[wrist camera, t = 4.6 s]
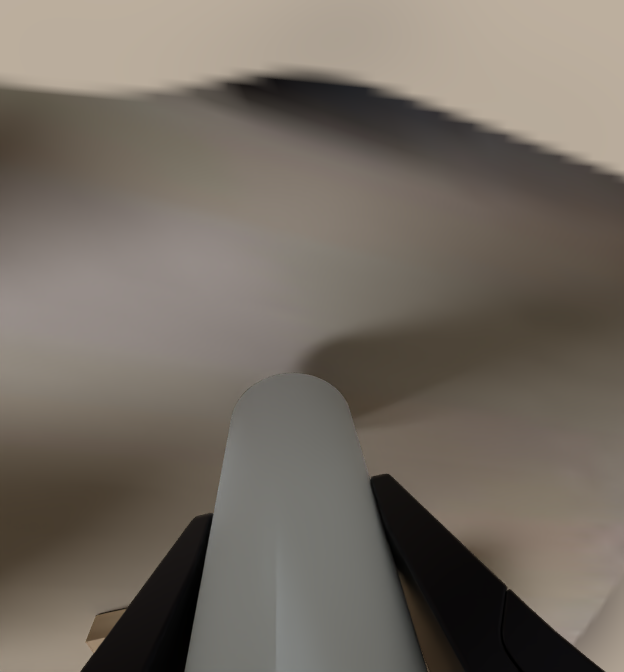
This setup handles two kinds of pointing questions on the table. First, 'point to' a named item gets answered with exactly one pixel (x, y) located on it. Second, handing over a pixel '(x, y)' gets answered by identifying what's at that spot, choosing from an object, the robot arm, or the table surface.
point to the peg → (299, 546)
